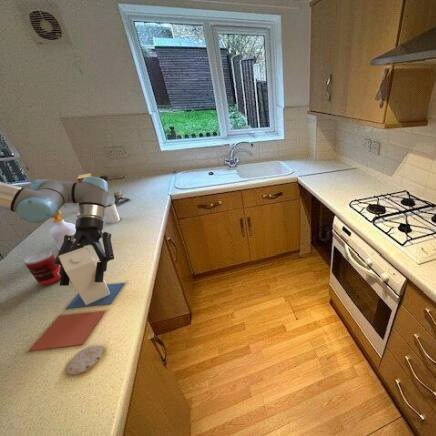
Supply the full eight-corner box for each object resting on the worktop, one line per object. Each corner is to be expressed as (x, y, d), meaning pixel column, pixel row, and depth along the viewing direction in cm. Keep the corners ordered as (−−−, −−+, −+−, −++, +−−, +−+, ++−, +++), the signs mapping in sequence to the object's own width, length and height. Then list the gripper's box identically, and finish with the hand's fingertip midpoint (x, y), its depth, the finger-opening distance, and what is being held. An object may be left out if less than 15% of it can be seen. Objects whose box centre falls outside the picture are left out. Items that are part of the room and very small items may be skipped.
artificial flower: (91, 207, 156) (88, 191, 154) (131, 204, 164) (129, 190, 162) (85, 209, 148) (82, 192, 146) (128, 206, 156) (126, 191, 154)
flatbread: (78, 380, 60) (77, 378, 59) (60, 369, 62) (58, 367, 62) (110, 351, 66) (109, 348, 66) (93, 342, 69) (91, 340, 69)
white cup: (108, 219, 137) (101, 204, 132) (121, 217, 139) (115, 201, 135) (106, 224, 131) (98, 208, 127) (120, 222, 134) (113, 205, 129)
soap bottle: (84, 239, 119) (60, 193, 107) (85, 247, 112) (60, 199, 101) (60, 246, 114) (33, 199, 102) (60, 255, 107) (30, 205, 96)
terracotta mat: (28, 351, 67) (28, 350, 67) (59, 316, 78) (59, 315, 77) (82, 345, 68) (81, 344, 68) (105, 311, 79) (105, 310, 79)
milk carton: (83, 294, 85) (57, 251, 76) (106, 284, 90) (84, 242, 81) (86, 305, 81) (58, 261, 72) (110, 294, 85) (88, 251, 76)
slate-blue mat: (66, 308, 80) (65, 308, 80) (85, 287, 89) (84, 286, 89) (110, 304, 82) (110, 303, 81) (124, 283, 90) (124, 282, 90)
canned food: (60, 270, 98) (46, 248, 93) (68, 276, 95) (54, 254, 89) (35, 281, 92) (19, 258, 87) (43, 288, 89) (27, 265, 84)
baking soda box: (99, 198, 165) (89, 176, 158) (87, 200, 162) (77, 178, 155) (100, 194, 172) (90, 172, 165) (89, 196, 169) (78, 174, 162)
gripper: (130, 219, 90) (124, 280, 83) (65, 224, 87) (54, 287, 81) (117, 213, 83) (110, 279, 76) (46, 218, 80) (33, 287, 74)
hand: (81, 283), depth 79 cm, fingers closed on milk carton, 10 cm apart
